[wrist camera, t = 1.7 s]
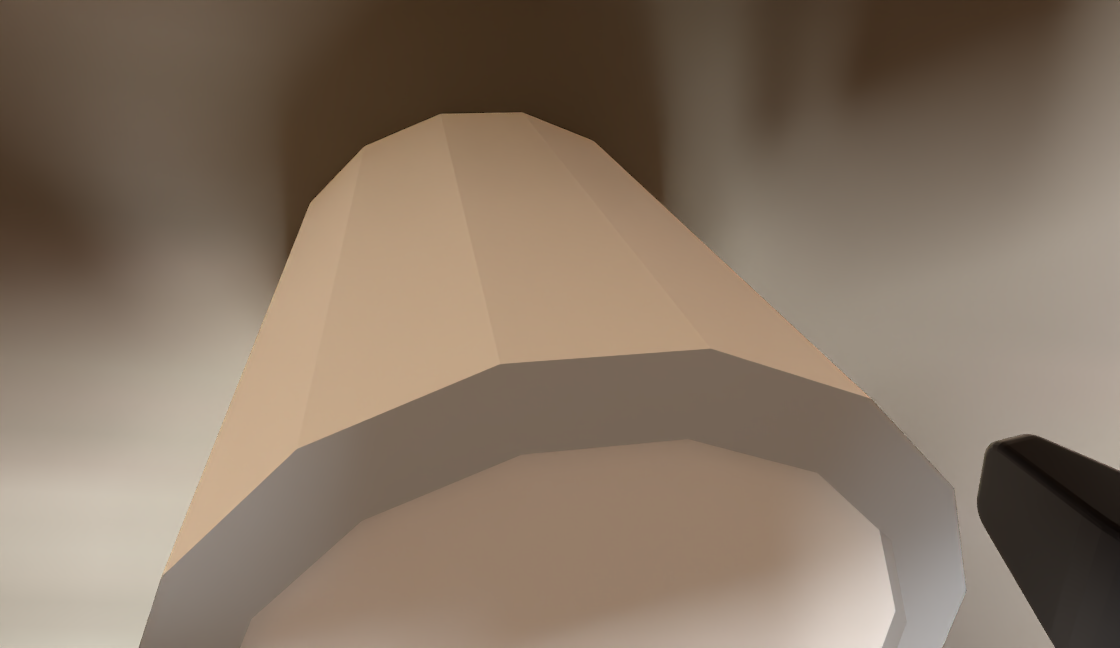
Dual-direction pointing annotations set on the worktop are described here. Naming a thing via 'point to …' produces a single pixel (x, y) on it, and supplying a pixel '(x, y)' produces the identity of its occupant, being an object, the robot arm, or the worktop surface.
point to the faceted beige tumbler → (544, 433)
